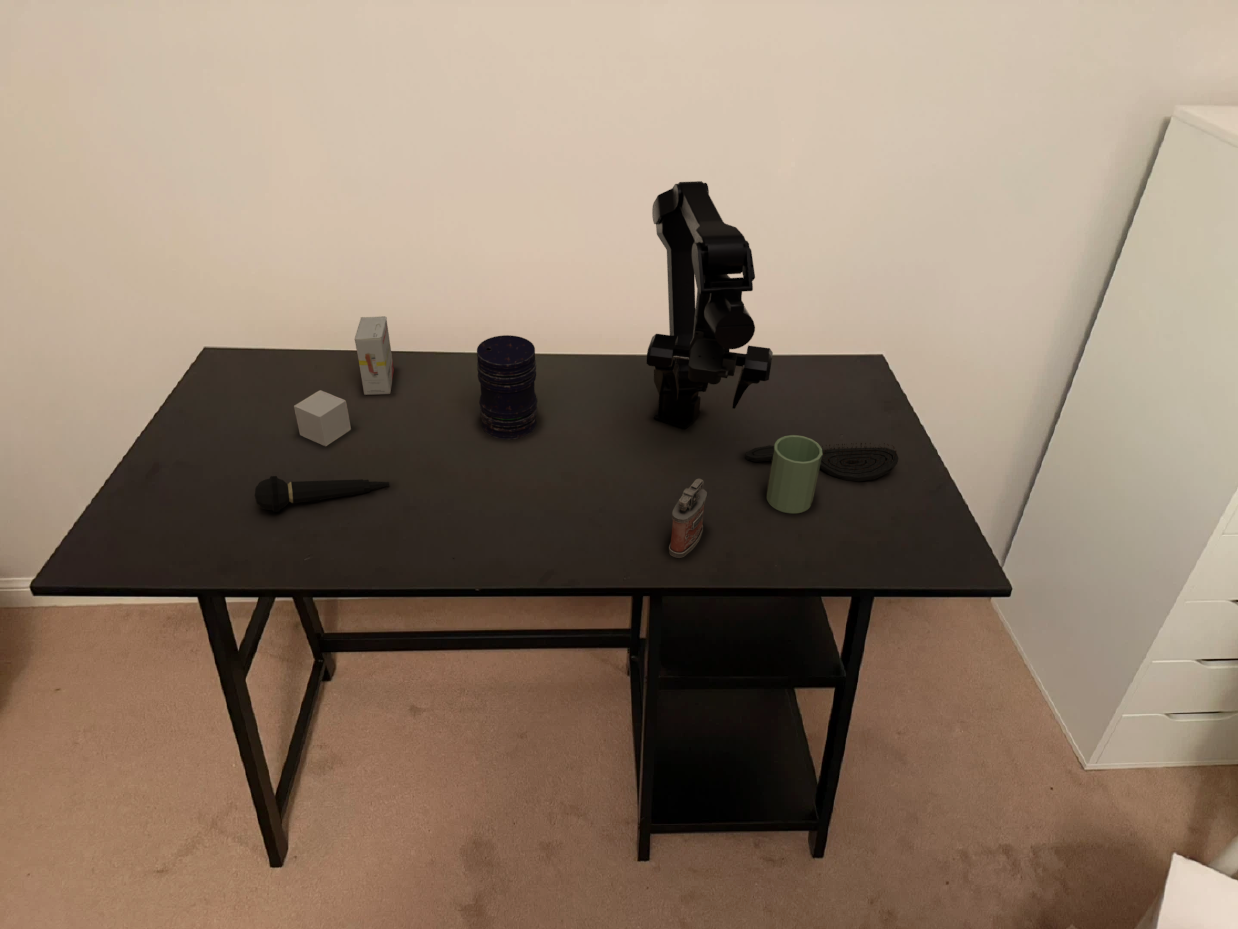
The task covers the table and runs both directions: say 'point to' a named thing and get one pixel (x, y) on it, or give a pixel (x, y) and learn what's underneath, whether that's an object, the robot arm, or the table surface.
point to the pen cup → (793, 473)
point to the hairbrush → (844, 461)
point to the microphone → (308, 491)
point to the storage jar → (507, 386)
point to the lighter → (688, 520)
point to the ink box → (374, 355)
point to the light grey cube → (322, 417)
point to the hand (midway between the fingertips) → (704, 403)
